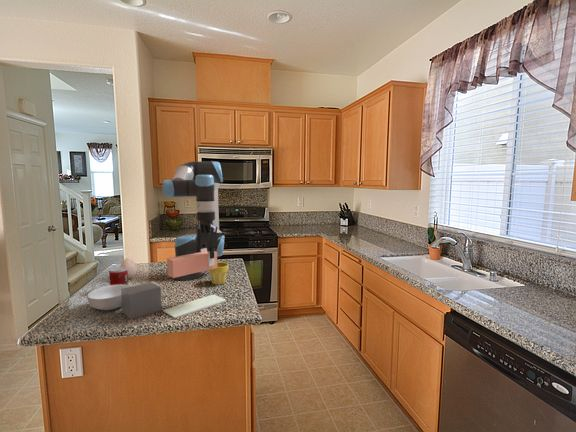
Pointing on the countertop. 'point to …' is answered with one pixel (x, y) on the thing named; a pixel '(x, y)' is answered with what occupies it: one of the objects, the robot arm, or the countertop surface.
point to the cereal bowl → (106, 297)
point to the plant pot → (219, 273)
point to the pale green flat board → (194, 306)
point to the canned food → (118, 276)
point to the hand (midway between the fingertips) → (207, 264)
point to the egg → (129, 267)
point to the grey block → (141, 299)
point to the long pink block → (189, 264)
